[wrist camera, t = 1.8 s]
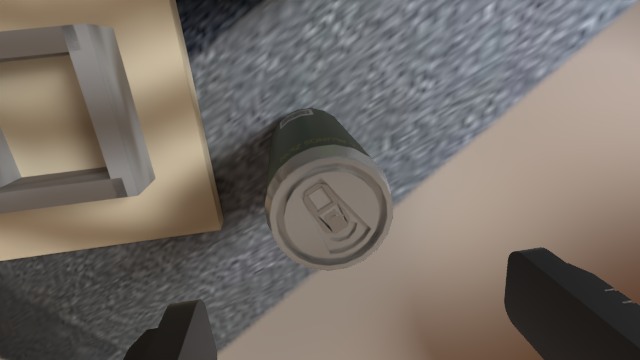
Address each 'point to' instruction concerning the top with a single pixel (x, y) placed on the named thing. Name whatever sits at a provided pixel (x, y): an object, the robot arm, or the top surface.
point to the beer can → (324, 193)
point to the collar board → (98, 128)
